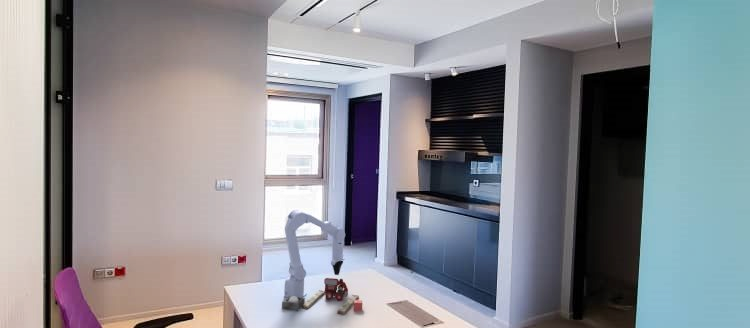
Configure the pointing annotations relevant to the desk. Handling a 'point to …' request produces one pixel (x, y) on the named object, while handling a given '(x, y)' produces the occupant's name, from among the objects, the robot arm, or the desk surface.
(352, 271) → the desk surface
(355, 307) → the red die
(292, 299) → the dome button
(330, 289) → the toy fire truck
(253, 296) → the desk surface
